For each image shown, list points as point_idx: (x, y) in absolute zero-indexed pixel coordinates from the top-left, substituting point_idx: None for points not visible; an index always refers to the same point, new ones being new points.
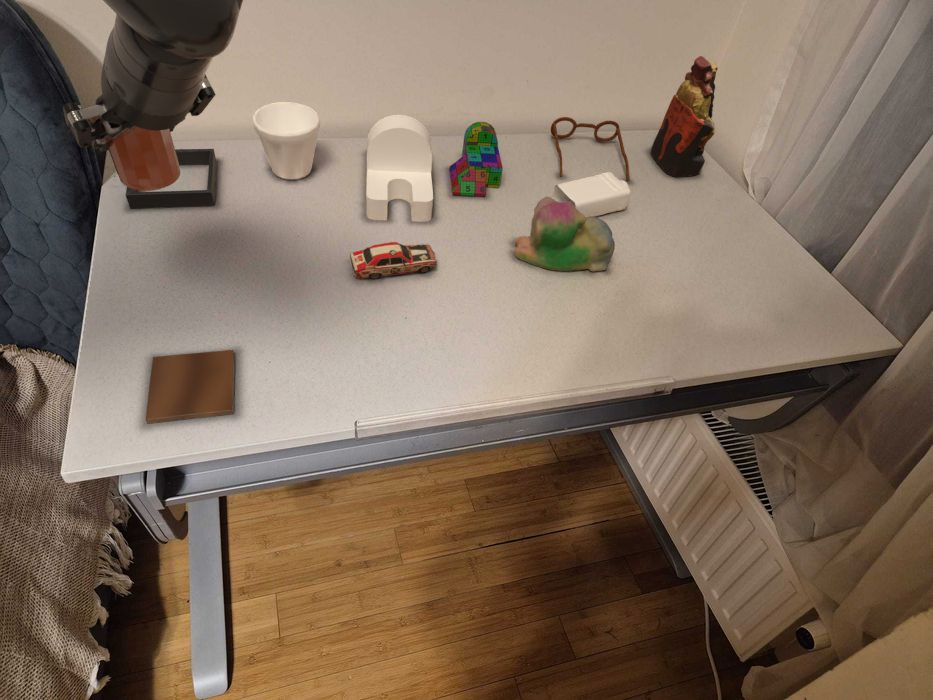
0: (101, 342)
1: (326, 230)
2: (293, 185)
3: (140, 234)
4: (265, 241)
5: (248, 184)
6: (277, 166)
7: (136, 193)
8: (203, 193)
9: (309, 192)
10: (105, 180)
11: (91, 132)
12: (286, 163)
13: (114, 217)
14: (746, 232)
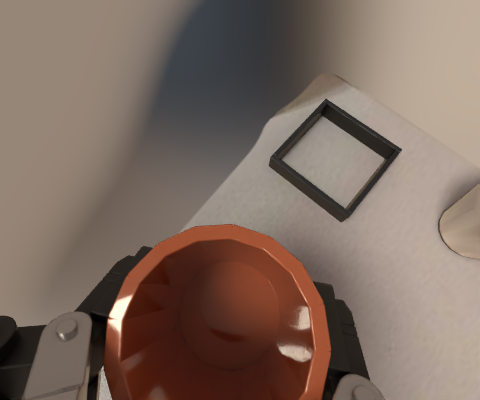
0: None
1: (429, 370)
2: (446, 258)
3: (250, 207)
4: None
5: (398, 216)
6: (452, 232)
7: (280, 163)
8: (339, 211)
9: (457, 285)
10: (279, 112)
11: (24, 389)
12: (468, 247)
13: (249, 166)
14: None
